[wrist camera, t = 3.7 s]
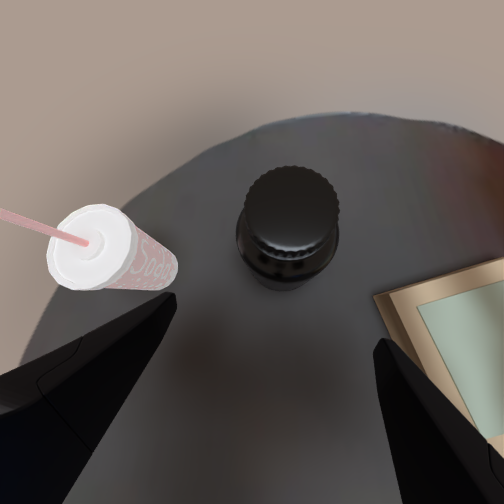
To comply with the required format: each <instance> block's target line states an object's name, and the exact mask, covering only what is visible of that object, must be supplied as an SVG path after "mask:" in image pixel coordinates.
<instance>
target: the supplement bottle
mask: <svg viewBox="0 0 504 504" xmlns="http://www.w3.org/2000/svg"><path fill="white" fill-rule="evenodd" d="M338 206H339V201H338V199H337V193H336V192H335V191H334V189H333V186H332V185H331V184H329V182H328V180H327V179H326V178H324V177H322V175H321V174H320V173H316V172H315V171H313V170H312V169H307V168H305V167H298V166H295V165H294V166H284V167H277V168H275V169H274V170H269V171H268V172H267V173H266V174H263V175H261V176H260V178H259V179H257V180H256V181H255V182H254V185H252V186H251V187H250V189H249V192H248V193H247V195H246V200H245V202H244V208H243V210H242V212H241V213H240V216H239V218H238V221H237V226H236V242H237V246H238V249H239V252H240V254H241V257H242V258H243V260H244V262H245V263H246V265H247V267H248V268H249V270H250V271H251V273H252V274H253V276H254V277H255V278H256V279H257V280H258V281H259V282H260V283H261V284H262V285H264V286H265V287H267V288H270V289H272V290H277V291H289V290H293V289H296V288H298V287H300V286H302V285H303V284H305V283H306V282H308V281H309V280H310V279H312V278H313V277H315V276H316V275H317V274H319V273H320V272H321V271H322V270H323V269H324V268H325V267H326V266H327V265H328V264H329V263H330V261H331V260H332V258H333V256H334V255H335V252H336V250H337V247H338V242H339V226H338V220H339V219H338V214H339V212H340V210H339V207H338Z"/></svg>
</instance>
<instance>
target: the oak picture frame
mask: <svg viewBox="0 0 504 504" xmlns="http://www.w3.org/2000/svg"><path fill="white" fill-rule="evenodd" d="M373 298H374V300H375V302H376V305H377V307H378V309H379V311H380V314H381V316H382V318H383V320H384V323H385V325H386V327H387V329H388V331H389V334H390V336H391V338H392V340H393V341H395V342H396V343H397V345H398V346H399V347H400V348H401V349H402V350H403V351H404V352H405V353H406V354H407V355H408V356H409V357H410V358H411V360H412V361H413V362H414V363H415V364H416V365H417V366H418V367H419V368H420V369H421V370H422V371H423V372H424V373H425V375H426V376H427V377H428V378H429V379H430V380H431V381H432V382H433V383H434V384H435V385H436V386H437V387H438V388H439V389H440V391H441V392H442V393H443V394H444V395H445V396H446V397H447V398H448V399H449V400H450V401H451V402H452V403H453V404H454V406H455V407H456V408H457V409H458V410H459V411H460V412H461V413H462V414H463V415H464V416H465V417H466V418H467V419H468V421H469V422H470V423H471V424H472V425H473V426H474V427H475V428H476V429H477V430H478V431H479V432H480V433H481V434H482V435H483V437H484V438H485V439H486V440H487V441H488V443H490V444H491V445H492V446H493V447H494V448H495V449H496V450H497V451H498V452H499V454H500V455H501V456H502V457H503V458H504V257H500V258H496V259H493V260H490V261H486V262H483V263H480V264H476V265H473V266H470V267H467V268H463V269H460V270H457V271H453V272H450V273H447V274H443V275H440V276H437V277H434V278H430V279H427V280H424V281H420V282H417V283H414V284H411V285H407V286H404V287H401V288H397V289H394V290H391V291H387V292H384V293H381V294H378V295H374V296H373Z"/></svg>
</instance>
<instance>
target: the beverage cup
mask: <svg viewBox="0 0 504 504" xmlns="http://www.w3.org/2000/svg"><path fill="white" fill-rule="evenodd" d="M0 219H2V220H5V221H8V222H11V223H14V224H17V225H20V226H23V227H26V228H29V229H32V230H35V231H38V232H41V233H44V234H47V235H50V236H52V237H51V239H50V242H49V246H48V251H47V255H46V257H47V263H48V268H49V272H50V273H51V275H52V276H53V277H54V279H55V280H56V281H57V283H58V284H60V285H63V286H65V287H67V288H69V289H72V290H99V289H102V288H117V289H137V290H161V289H163V288H165V287H167V286H168V285H169V284H170V283H171V282H172V281H173V280H174V279H175V276H176V274H177V272H178V262H177V260H176V257H175V256H174V255H173V254H172V253H171V252H170V251H169V250H168V249H166V248H165V247H164V246H162V245H161V244H160V243H158V242H157V241H155V240H154V239H153V238H151V237H150V236H149V235H147V234H146V233H145V232H143V231H142V230H140V229H139V228H138V227H136V226H135V225H134V223H133V222H132V221H131V220H130V219H129V218H128V217H127V216H126V215H125V214H124V213H122V212H121V211H120V210H119V209H117V208H114V207H111V206H108V205H105V204H96V205H87V206H85V207H83V208H81V209H79V210H76V211H74V212H72V213H71V214H70V215H69V216H68V217H67V218H65V220H63V221H62V222H61V223H60V224H59V225H58V227H57V229H55V228H53V227H50V226H47V225H44V224H42V223H39V222H37V221H34V220H31V219H28V218H26V217H23V216H21V215H18V214H15V213H12V212H10V211H7V210H4V209H2V208H0Z"/></svg>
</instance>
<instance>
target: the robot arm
mask: <svg viewBox="0 0 504 504" xmlns="http://www.w3.org/2000/svg"><path fill="white" fill-rule="evenodd" d="M176 310H177V302H176V295H175V293H172V292H164V293H162V294H160V295H158V296H156V297H155V298H153V299H151V300H149V301H147V302H145V303H143V304H141V305H139V306H138V307H136V308H134V309H132V310H130V311H128V312H126V313H124V314H123V315H121V316H119V317H117V318H115V319H113V320H111V321H109V322H107V323H106V324H104V325H102V326H100V327H98V328H96V329H94V330H92V331H91V332H89V333H87V334H85V335H84V336H81V337H79V338H77V339H75V340H73V341H72V342H70V343H68V344H66V345H64V346H62V347H60V348H58V349H56V350H54V351H52V352H50V353H48V354H45V355H43V356H41V357H39V358H37V359H35V360H33V361H31V362H28V363H26V364H24V365H22V366H20V367H17V368H15V369H13V370H11V371H9V372H7V373H4V374H2V375H0V504H62V503H63V501H64V500H65V498H66V496H67V495H68V493H69V491H70V490H71V488H72V487H73V485H74V483H75V482H76V480H77V478H78V477H79V475H80V474H81V472H82V470H83V469H84V467H85V465H86V464H87V462H88V460H89V459H90V457H91V456H92V453H93V452H94V450H95V449H96V447H97V446H98V444H99V442H100V441H101V439H102V437H103V436H104V434H105V432H106V431H107V429H108V428H109V426H110V424H111V423H112V421H113V419H114V418H115V416H116V415H117V413H118V411H119V410H120V408H121V406H122V405H123V403H124V401H125V400H126V398H127V397H128V395H129V393H130V392H131V390H132V388H133V387H134V385H135V384H136V382H137V380H138V379H139V377H140V375H141V374H142V372H143V370H144V369H145V367H146V366H147V364H148V362H149V361H150V359H151V357H152V356H153V354H154V353H155V351H156V349H157V348H158V346H159V344H160V343H161V341H162V339H163V337H164V335H165V333H166V331H167V329H168V327H169V325H170V322H171V320H172V318H173V316H174V314H175V312H176ZM373 359H374V368H375V376H376V384H377V392H378V398H379V402H380V407H381V411H382V416H383V420H384V424H385V429H386V433H387V437H388V442H389V446H390V451H391V455H392V459H393V464H394V468H395V472H396V477H397V481H398V485H399V490H400V494H401V499H402V503H403V504H504V458H503V457H502V456H501V455H500V454H499V452H498V451H497V450H496V449H495V448H494V447H493V446H492V445H491V444H490V443H488V441H487V440H486V439H485V438H484V437H483V435H482V434H481V433H480V432H479V431H478V430H477V429H476V428H475V427H474V426H473V425H472V424H471V423H470V422H469V421H468V419H467V418H466V417H465V416H464V415H463V414H462V413H461V412H460V411H459V410H458V409H457V408H456V407H455V406H454V404H453V403H452V402H451V401H450V400H449V399H448V398H447V397H446V396H445V395H444V394H443V393H442V392H441V391H440V389H439V388H438V387H437V386H436V385H435V384H434V383H433V382H432V381H431V380H430V379H429V378H428V377H427V376H426V375H425V373H424V372H423V371H422V370H421V369H420V368H419V367H418V366H417V365H416V364H415V363H414V362H413V361H412V360H411V358H410V357H409V356H408V355H407V354H406V353H405V352H404V351H403V350H402V349H401V348H400V347H399V346H398V345H397V343H396V342H395V341H393V340H391V339H386V338H381V339H380V340H379V342H378V344H377V345H376V347H375V349H374V351H373Z"/></svg>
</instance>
